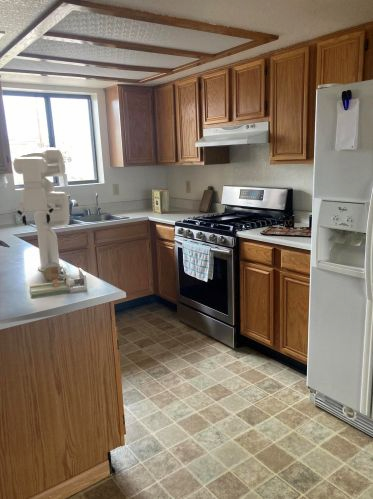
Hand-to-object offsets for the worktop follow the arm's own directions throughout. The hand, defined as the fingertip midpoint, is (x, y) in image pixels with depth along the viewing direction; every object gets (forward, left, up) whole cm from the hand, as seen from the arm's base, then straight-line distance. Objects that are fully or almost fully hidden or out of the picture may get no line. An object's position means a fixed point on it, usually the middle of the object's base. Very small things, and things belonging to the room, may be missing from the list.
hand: (36, 223), depth 185 cm
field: (+13, +2, -28) cm, 31 cm away
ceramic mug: (-6, +6, -29) cm, 30 cm away
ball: (+13, +11, -26) cm, 31 cm away
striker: (+13, +5, -27) cm, 30 cm away
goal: (+13, +13, -28) cm, 34 cm away
